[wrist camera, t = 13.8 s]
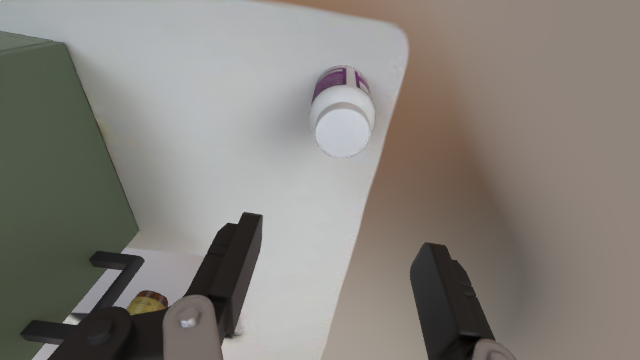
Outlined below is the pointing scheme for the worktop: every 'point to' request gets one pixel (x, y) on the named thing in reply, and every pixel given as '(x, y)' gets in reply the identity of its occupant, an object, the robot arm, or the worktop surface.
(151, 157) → the worktop surface
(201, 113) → the worktop surface
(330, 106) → the pill bottle
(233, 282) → the robot arm
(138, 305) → the sauce bottle
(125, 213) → the cupboard door
